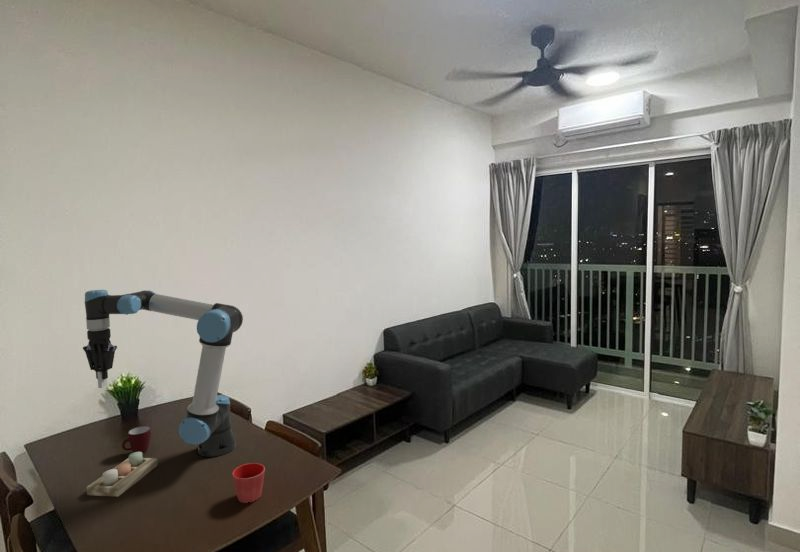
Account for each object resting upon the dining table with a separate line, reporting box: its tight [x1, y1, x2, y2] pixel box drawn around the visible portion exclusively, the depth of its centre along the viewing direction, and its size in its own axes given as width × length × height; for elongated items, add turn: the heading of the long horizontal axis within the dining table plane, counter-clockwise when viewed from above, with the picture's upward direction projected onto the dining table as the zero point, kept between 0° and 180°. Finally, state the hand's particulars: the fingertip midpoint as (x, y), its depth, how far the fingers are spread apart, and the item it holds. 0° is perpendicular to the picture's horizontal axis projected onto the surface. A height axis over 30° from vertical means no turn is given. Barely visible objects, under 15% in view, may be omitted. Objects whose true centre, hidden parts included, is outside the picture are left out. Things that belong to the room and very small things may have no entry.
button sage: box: [128, 452, 144, 467], centre depth 168 cm, size 5×5×4 cm
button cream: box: [101, 468, 118, 486], centre depth 155 cm, size 5×5×4 cm
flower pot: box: [231, 462, 266, 504], centre depth 149 cm, size 11×11×10 cm
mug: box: [121, 425, 152, 455], centre depth 181 cm, size 11×8×10 cm
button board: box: [86, 457, 158, 498], centre depth 161 cm, size 12×21×3 cm, turn 175°
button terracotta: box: [116, 463, 131, 476], centre depth 161 cm, size 5×5×4 cm
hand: (102, 386), depth 170 cm, fingers closed
